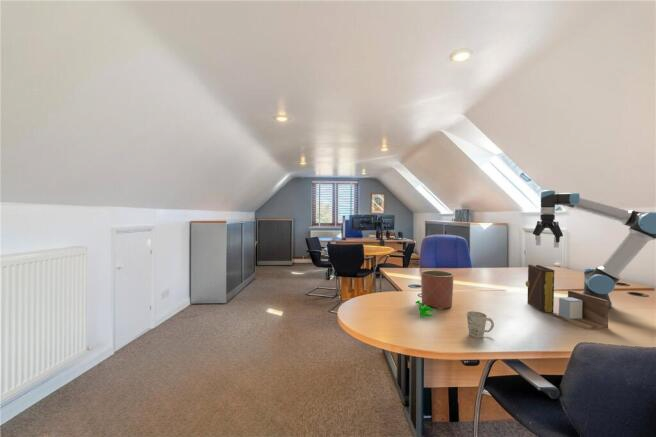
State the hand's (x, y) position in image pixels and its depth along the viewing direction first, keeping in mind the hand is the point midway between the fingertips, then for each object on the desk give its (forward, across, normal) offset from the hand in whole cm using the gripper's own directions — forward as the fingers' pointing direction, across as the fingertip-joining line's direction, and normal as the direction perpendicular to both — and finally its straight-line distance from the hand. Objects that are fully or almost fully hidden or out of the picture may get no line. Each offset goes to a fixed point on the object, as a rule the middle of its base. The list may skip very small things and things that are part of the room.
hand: (546, 246), depth 191 cm
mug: (+37, +46, -78) cm, 98 cm away
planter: (+37, 0, -76) cm, 84 cm away
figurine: (+37, +19, -93) cm, 102 cm away
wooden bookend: (+37, +34, -13) cm, 52 cm away
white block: (+36, +31, -14) cm, 49 cm away
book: (+37, +10, -14) cm, 41 cm away
